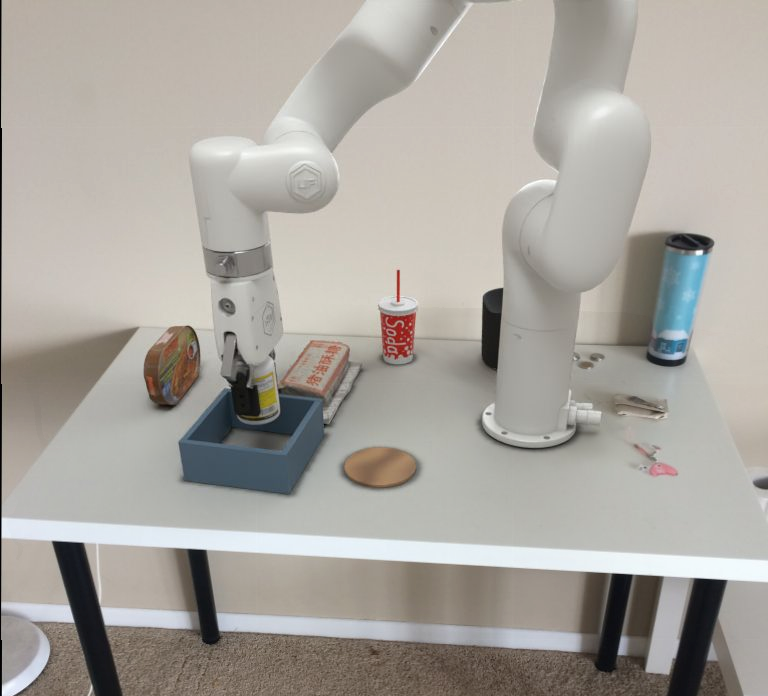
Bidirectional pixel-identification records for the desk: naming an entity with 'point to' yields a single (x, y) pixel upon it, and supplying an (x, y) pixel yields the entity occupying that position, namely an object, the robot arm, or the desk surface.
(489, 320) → the pen holder
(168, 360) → the tin
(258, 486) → the open box
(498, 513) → the desk surface
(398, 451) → the coaster
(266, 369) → the supplement bottle
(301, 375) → the packaged product
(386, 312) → the beverage cup
